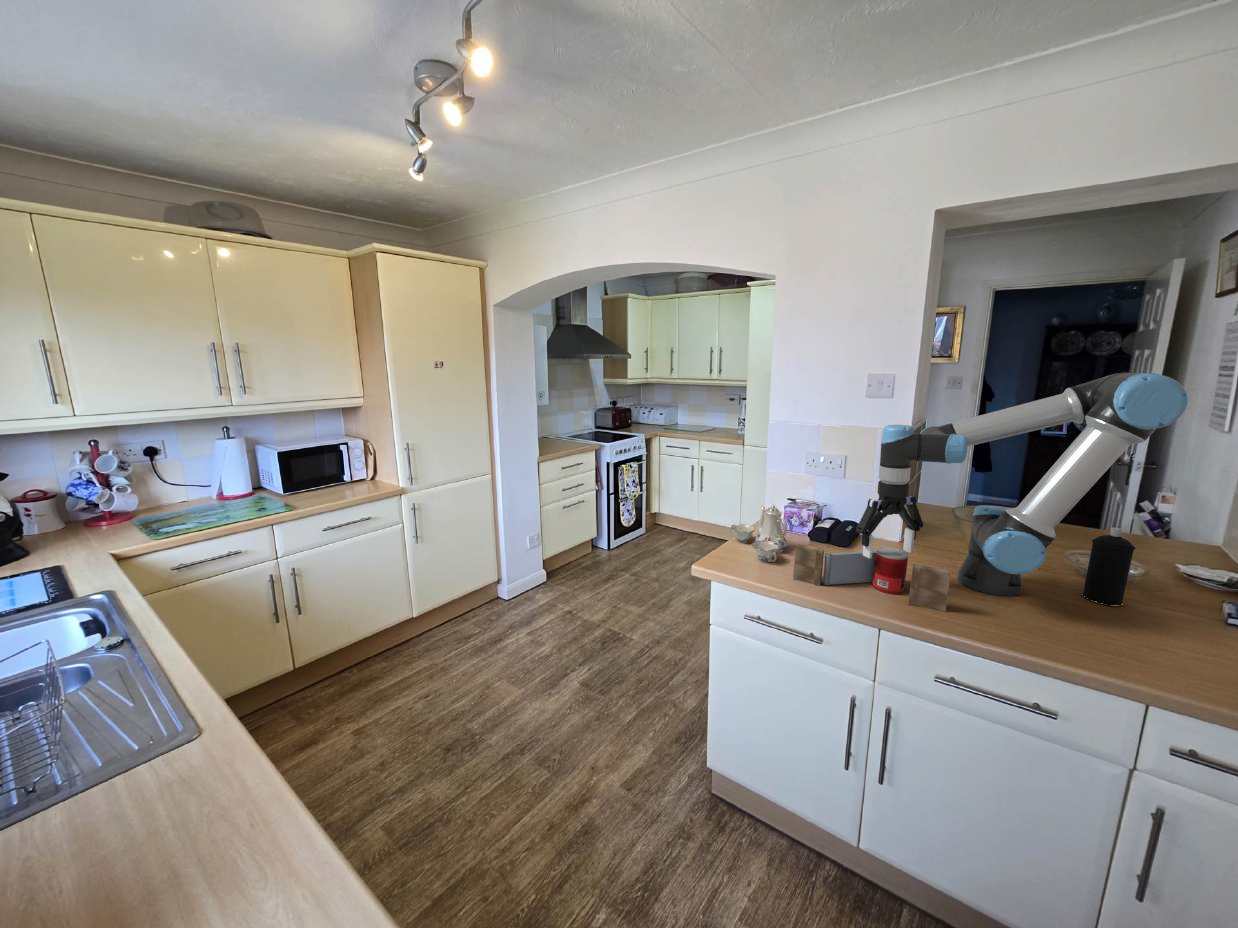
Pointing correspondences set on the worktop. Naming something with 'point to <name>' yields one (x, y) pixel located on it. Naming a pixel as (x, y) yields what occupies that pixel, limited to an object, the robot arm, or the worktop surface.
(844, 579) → the door leaf
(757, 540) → the chinaware
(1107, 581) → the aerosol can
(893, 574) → the canned food
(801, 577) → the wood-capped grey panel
